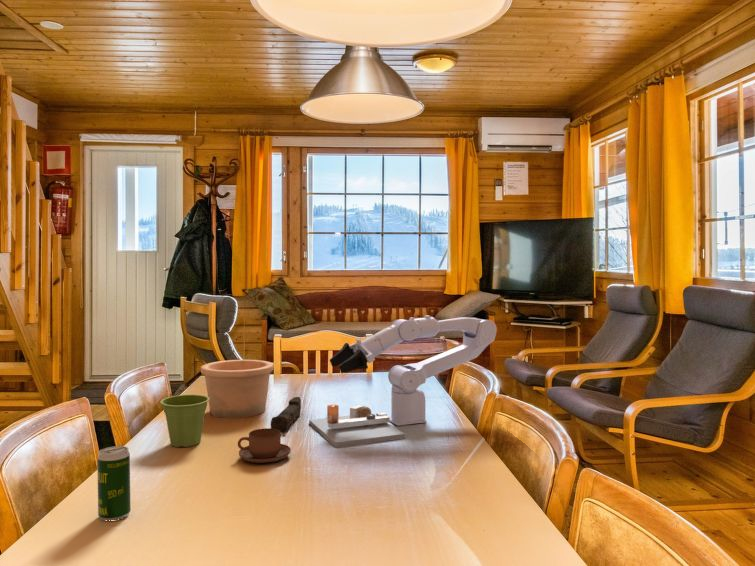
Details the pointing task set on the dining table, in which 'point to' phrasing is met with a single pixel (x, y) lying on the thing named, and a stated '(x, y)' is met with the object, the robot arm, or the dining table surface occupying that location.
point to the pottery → (237, 387)
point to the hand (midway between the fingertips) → (335, 366)
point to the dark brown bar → (287, 415)
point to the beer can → (113, 483)
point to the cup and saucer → (263, 446)
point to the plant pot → (185, 418)
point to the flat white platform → (356, 431)
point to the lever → (369, 420)
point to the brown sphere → (364, 412)
